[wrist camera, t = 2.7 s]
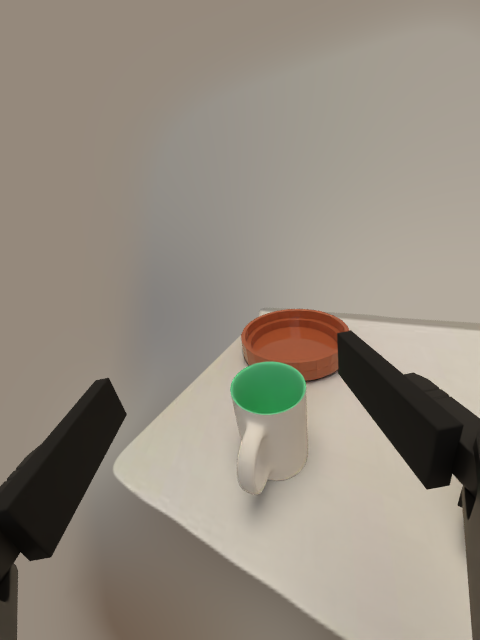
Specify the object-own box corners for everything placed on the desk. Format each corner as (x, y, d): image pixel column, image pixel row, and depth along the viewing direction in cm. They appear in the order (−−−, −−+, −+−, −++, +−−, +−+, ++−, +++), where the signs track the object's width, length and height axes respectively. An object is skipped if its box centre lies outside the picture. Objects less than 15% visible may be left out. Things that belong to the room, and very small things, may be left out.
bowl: (233, 381, 42) (229, 361, 40) (253, 326, 60) (251, 310, 58) (359, 387, 36) (361, 363, 35) (340, 324, 54) (340, 307, 52)
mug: (298, 535, 22) (294, 466, 17) (220, 506, 25) (199, 441, 20) (310, 426, 31) (309, 365, 27) (254, 416, 34) (244, 358, 30)
